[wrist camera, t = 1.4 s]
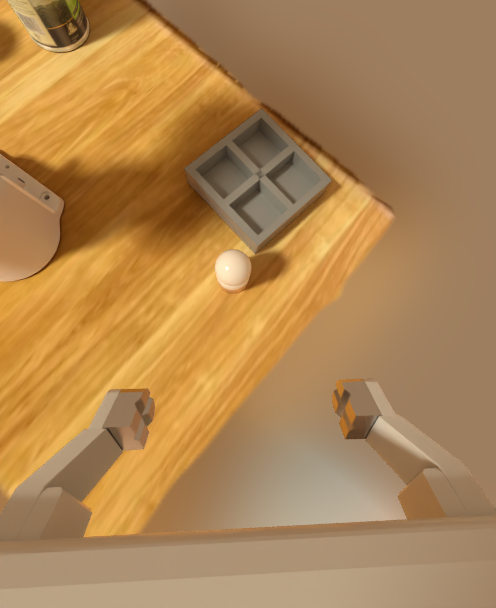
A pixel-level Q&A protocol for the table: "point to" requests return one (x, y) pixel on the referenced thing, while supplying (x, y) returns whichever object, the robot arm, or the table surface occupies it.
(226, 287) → the cream rounded piece
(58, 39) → the coffee can
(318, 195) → the grey compartment tray
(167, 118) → the table surface
